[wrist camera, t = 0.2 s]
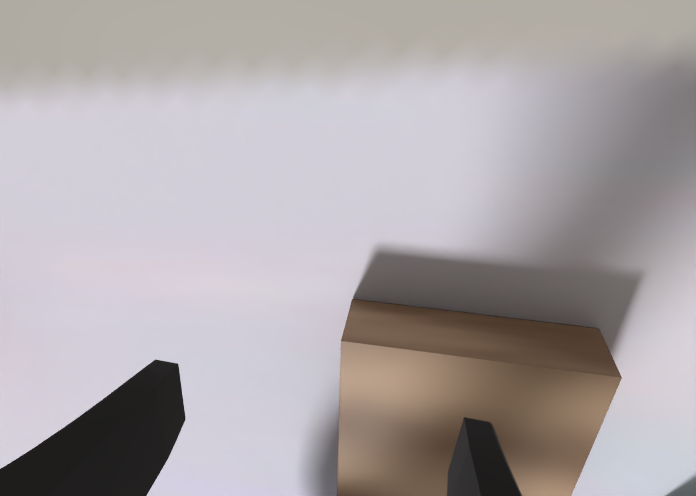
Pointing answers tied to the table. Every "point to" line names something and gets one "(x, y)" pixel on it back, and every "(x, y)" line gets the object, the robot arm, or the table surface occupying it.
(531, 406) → the walnut base
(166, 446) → the robot arm
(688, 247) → the table surface
